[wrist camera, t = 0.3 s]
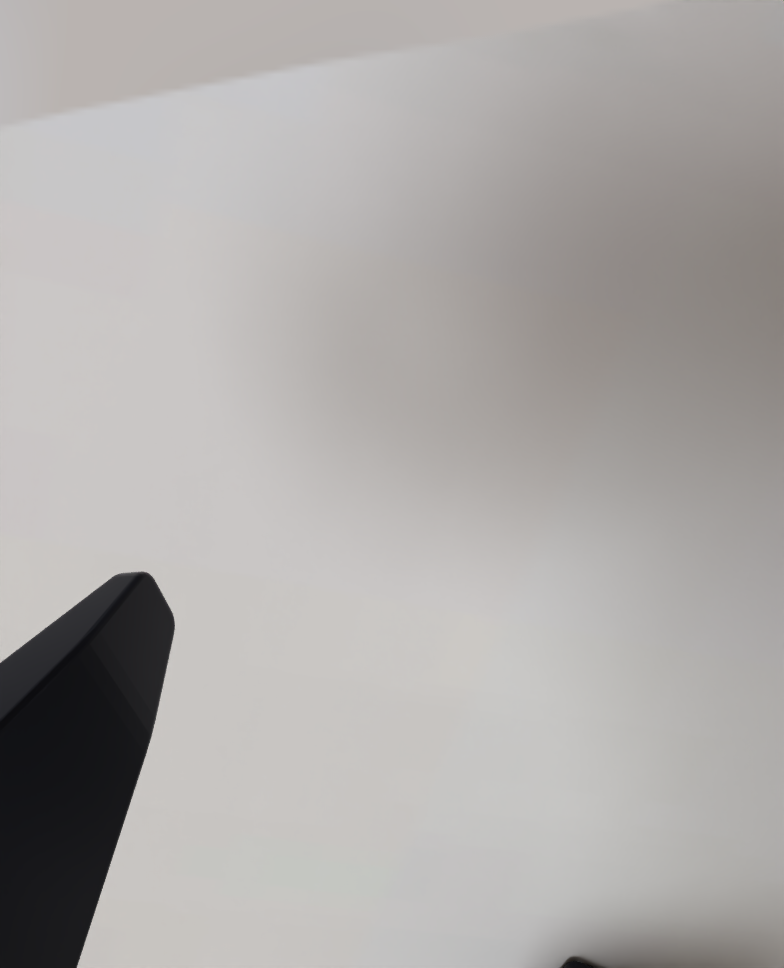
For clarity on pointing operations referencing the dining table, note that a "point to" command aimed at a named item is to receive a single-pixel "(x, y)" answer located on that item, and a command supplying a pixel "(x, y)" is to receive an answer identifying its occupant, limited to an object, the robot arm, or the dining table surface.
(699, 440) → the dining table surface
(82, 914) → the robot arm
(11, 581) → the dining table surface
